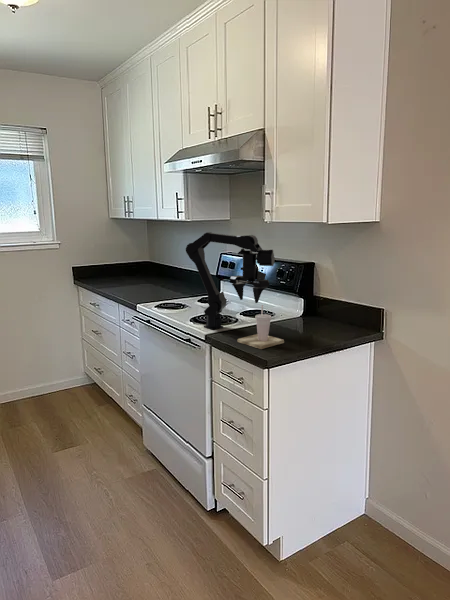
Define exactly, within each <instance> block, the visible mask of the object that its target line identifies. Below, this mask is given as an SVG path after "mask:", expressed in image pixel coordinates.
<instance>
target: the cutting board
mask: <svg viewBox="0 0 450 600" xmlns="http://www.w3.org/2000/svg"><path fill="white" fill-rule="evenodd" d="M236 342H237V343H240V344H242V345H247V346H249V347H253V348H256V349H259V350H263V349H267V348H271V347H274V346H277V345H281V344H284V343H285V340H284V339H282V338H279V337H275V336H272V335H268V340H267V341H259V340H258V333H256V334H253V335H252V334H251V335H248V336H244V337H239V338H237V341H236Z"/></svg>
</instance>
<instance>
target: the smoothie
mask: <svg viewBox="0 0 450 600" xmlns="http://www.w3.org/2000/svg"><path fill="white" fill-rule="evenodd" d="M260 308H261V310H260V313H261V314H260V313H259V314H256V315H255V317H254V318H255V322H256V332H257V333H256V334H258V340H259V341H267V340H268V336H269V332H270V327H271V326H270V325H271V320H272V315H271V314H266V313H264V311H263V310H264V305H263V304H261V306H260ZM263 313H264V314H263Z"/></svg>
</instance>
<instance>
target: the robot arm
mask: <svg viewBox="0 0 450 600" xmlns="http://www.w3.org/2000/svg"><path fill="white" fill-rule="evenodd" d="M258 241H259V240H258V238H257V237H256V235H254V234H249V235H248V234H245V235H233V234H231V235H230V234H224V233H215V232H212V231H208V232H204V233H203V234H202V235H201V236H199V238H197V239H196V240H194V241H193V242H190V243H188V244H187V245H186V248H185V252H186V255H187V256H188V258H189V259H190V261H192V262H193V263H194V265H195V267H196V269H197V271H198V275H199V276H200V279H201V281H202V284H203V286H204V289H205V290H206V293H207V303H208V306H207V308H205V310H203V312H204V315H205V317H206V325H203V328H206V329H210V330H213V331H214V330H217V329H223V328H224V325H222V318H221V317H222V315H221V313H222V312H223V310H224V309H225V308H226V306H227V298H226V297H225V293H224V292H223V291H221V292H220V291H219V290H218V288H217V286H216V284H215V281H214V279H213V277H212V274H211V271H210V269H209V267H208V265H207V262H206V259H205V257H206V256H205V253H206V252H205V248H206V247H207V246H208V245H209V244H210V243H216V244H224V245H225V244H226V245H233V246H236V247H238V248H241V249H240V250H239V251H238V252H237V254H238V255H242V267H240V271H242V275H231V276H230V278H229V283H230V284H231V285H232V287H233V288H234V289H235V291H236V293H237V296H238V298H239V300H240V301H242V300H243V299H244V288H245V285H246V284H249V285H253V287H252V291H253V292H252V293H253V298H254V303H255V304H257V303H259V300H260V298H261V295H262V293H263V291H264V290H265V289H267V288H268V287H270V281H269V280H268V279H266V277H267V273H265V272H262V271H259V270H260V269H259V267H257V264H258V265H259V266H260V267H261V266H264V267H265V266H266V267H274V265H275V259H276V258H275V253H274V249H263V248H262V247H261V245H260V244H259V242H258Z"/></svg>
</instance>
